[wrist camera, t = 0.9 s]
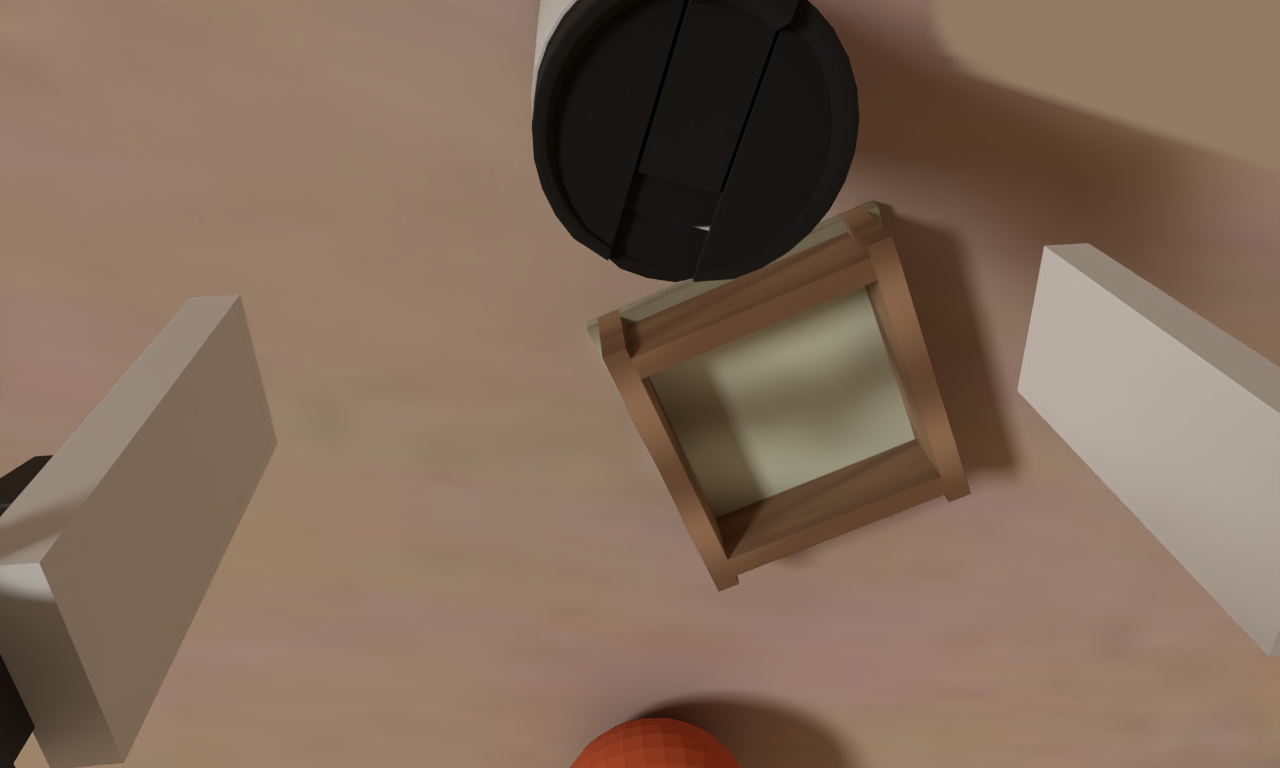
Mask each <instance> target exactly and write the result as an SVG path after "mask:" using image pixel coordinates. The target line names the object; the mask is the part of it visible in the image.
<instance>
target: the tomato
mask: <svg viewBox="0 0 1280 768" xmlns="http://www.w3.org/2000/svg"><path fill="white" fill-rule="evenodd" d="M571 768H741V767H740V765H739V764H738V762H737V761H736V759H735V758H734V757H733V755H732V754H731V752H730V751H729V750H728V749H727V748H726V747H725V746H724V745H723V744H722V743H721V742H720V741H718V740H717V739H716V738H715V737H713V736H712V735H711V734H709V733H707V732H706V731H704V730H703V729H701V728H699V727H697V726H694V725H692V724H689V723H686V722H683V721H680V720H675V719H670V718H640V719H636V720H632V721H628V722H625V723H623V724H620V725H618V726H615V727H614V728H612V729H610V730H608V731H607V732H605V733H603V734H602V735H600V736H599V737H597V738H596V739H595V740H594V741H592V742H591V743H590V744H589V745H588V746H587V747H586V748H585V749H584V750H583V752H582V753H581V754H580V755H579V757H578V758H577V759H576V761H575V762H574V763H573V765H572V766H571Z"/></svg>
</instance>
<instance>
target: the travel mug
mask: <svg viewBox="0 0 1280 768" xmlns="http://www.w3.org/2000/svg"><path fill="white" fill-rule="evenodd" d="M531 106H532V135H533V151H534V160H535V164H536V168H537V172H538V175H539V179H540V183H541V186H542V189H543V191H544V193H545V195H546V197H547V199H548V201H549V203H550V205H551V207H552V209H553V211H554V213H555V215H556V217H557V218H558V219H559V220H560V222H561V223H562V224H563V226H564V227H565V228H566V229H567V231H568V232H569V233H570V235H571V236H572V237H573V238H574V239H575V240H577V241H578V242H580V243H581V244H583V245H584V246H586V247H588V248H589V249H591V250H592V251H594V252H595V253H597V254H598V255H600V256H601V257H603V258H605V259H606V260H608V259H610V260H611V261H612V262H613V263H615V264H616V265H617V266H618V267H619V268H620V269H623V270H626V271H629V272H632V273H635V274H638V275H640V276H643V277H646V278H651V279H658V280H665V281H671V282H678V281H683V280H687V279H692V278H693V281H694V282H702V281H715V280H729V279H736V278H738V277H741V276H743V275H746V274H749V273H751V272H754V271H756V270H759V269H761V268H763V267H765V266H766V265H768V264H770V263H771V262H773V261H775V260H776V259H778V258H780V257H781V256H783V255H785V254H786V253H788V252H789V251H790V250H791V249H792V248H794V247H795V246H796V245H797V244H798V243H799V242H801V241H802V240H803V239H804V238H805V237H806V236H807V235H809V234H810V233H811V232H812V230H813V229H814V228H815V227H816V225H817V224H818V223H819V222H820V221H821V219H822V218H823V217H824V216H825V214H826V213H827V212H828V211H829V209H830V208H831V206H832V204H833V202H834V201H835V199H836V197H837V195H838V193H839V192H840V190H841V188H842V186H843V184H844V183H845V180H846V177H847V174H848V171H849V168H850V165H851V162H852V159H853V156H854V153H855V148H856V140H857V133H858V125H859V110H858V95H857V86H856V83H855V79H854V76H853V72H852V68H851V65H850V61H849V58H848V56H847V54H846V52H845V50H844V48H843V46H842V44H841V42H840V40H839V38H838V36H837V35H836V33H835V31H834V29H833V28H832V26H831V25H830V24H829V23H828V22H827V20H826V19H825V18H824V17H823V16H822V15H821V13H820V12H819V11H818V10H817V9H816V8H815V7H814V6H813V5H812V4H811V3H810V2H809V1H808V0H541V1H540V9H539V16H538V28H537V39H536V51H535V62H534V74H533V85H532V97H531Z"/></svg>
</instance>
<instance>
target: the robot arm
mask: <svg viewBox="0 0 1280 768" xmlns="http://www.w3.org/2000/svg"><path fill="white" fill-rule="evenodd" d="M1017 391H1018V392H1019V393H1020V394H1021V395H1022V396H1023V397H1024V398H1025V399H1026V400H1027V401H1028V402H1029V403H1030V404H1031V405H1032V407H1033V408H1034V409H1035V410H1036V411H1037V412H1038V413H1039V414H1040V415H1041V416H1042V417H1043V418H1044V419H1045V420H1046V421H1047V422H1048V423H1049V425H1050V426H1051V427H1052V428H1053V429H1054V430H1055V431H1056V432H1057V433H1058V434H1059V435H1060V436H1061V437H1062V438H1063V439H1064V440H1065V441H1066V443H1067V444H1068V445H1069V446H1070V447H1071V448H1072V449H1073V450H1074V451H1075V452H1076V453H1077V454H1078V455H1079V456H1080V457H1081V458H1082V459H1083V461H1084V462H1085V463H1086V464H1087V465H1088V466H1089V467H1090V468H1091V469H1092V470H1093V471H1094V472H1095V473H1096V474H1097V475H1098V476H1099V477H1100V479H1101V480H1102V481H1103V482H1104V483H1105V484H1106V485H1107V486H1108V487H1109V488H1110V489H1111V490H1112V491H1113V492H1114V493H1115V494H1116V495H1117V497H1118V498H1119V499H1120V500H1121V501H1122V502H1123V503H1124V504H1125V505H1126V506H1127V507H1128V508H1129V509H1130V510H1131V511H1132V512H1133V513H1134V515H1135V516H1136V517H1137V518H1138V519H1139V520H1140V521H1141V522H1142V523H1143V524H1144V525H1145V526H1146V527H1147V528H1148V529H1149V530H1150V531H1151V533H1152V534H1153V535H1154V536H1155V537H1156V538H1157V539H1158V540H1159V541H1160V542H1161V543H1162V544H1163V545H1164V546H1165V547H1166V548H1167V549H1168V551H1169V552H1170V553H1171V554H1172V555H1173V556H1174V557H1175V558H1176V559H1177V560H1178V561H1179V562H1180V563H1181V564H1182V565H1183V566H1184V567H1185V569H1186V570H1187V571H1188V572H1189V573H1190V574H1191V575H1192V576H1193V577H1194V578H1195V579H1196V580H1197V581H1198V582H1199V583H1200V584H1201V585H1202V587H1203V588H1204V589H1205V590H1206V591H1207V592H1208V593H1209V594H1210V595H1211V596H1212V597H1213V598H1214V599H1215V600H1216V601H1217V602H1218V603H1219V605H1220V606H1221V607H1222V608H1223V609H1224V610H1225V611H1226V612H1227V613H1228V614H1229V615H1230V616H1231V617H1232V618H1233V619H1234V620H1235V621H1236V623H1237V624H1238V625H1239V626H1240V627H1241V628H1242V629H1243V630H1244V631H1245V632H1246V633H1247V634H1248V635H1249V636H1250V637H1251V638H1252V639H1253V641H1254V642H1255V643H1256V644H1257V645H1258V646H1259V647H1260V648H1261V649H1262V650H1263V651H1264V652H1265V653H1266V654H1267V655H1268V656H1269V657H1270V656H1280V367H1278V366H1277V365H1275V364H1274V363H1272V362H1271V361H1269V360H1267V359H1266V358H1264V357H1263V356H1261V355H1260V354H1258V353H1257V352H1255V351H1254V350H1252V349H1251V348H1249V347H1247V346H1246V345H1244V344H1243V343H1241V342H1240V341H1238V340H1237V339H1235V338H1234V337H1232V336H1231V335H1229V334H1227V333H1226V332H1224V331H1223V330H1221V329H1220V328H1218V327H1217V326H1215V325H1214V324H1212V323H1211V322H1209V321H1207V320H1206V319H1204V318H1203V317H1201V316H1200V315H1198V314H1197V313H1195V312H1194V311H1192V310H1191V309H1189V308H1187V307H1186V306H1184V305H1183V304H1181V303H1180V302H1178V301H1177V300H1175V299H1174V298H1172V297H1171V296H1169V295H1167V294H1166V293H1164V292H1163V291H1161V290H1160V289H1158V288H1157V287H1155V286H1154V285H1152V284H1151V283H1149V282H1147V281H1146V280H1144V279H1143V278H1141V277H1140V276H1138V275H1137V274H1135V273H1134V272H1132V271H1131V270H1129V269H1127V268H1126V267H1124V266H1123V265H1121V264H1120V263H1118V262H1117V261H1115V260H1114V259H1112V258H1111V257H1109V256H1107V255H1106V254H1104V253H1103V252H1101V251H1100V250H1098V249H1097V248H1095V247H1094V246H1092V245H1091V244H1089V243H1082V244H1066V245H1049V246H1044V250H1043V255H1042V261H1041V266H1040V272H1039V277H1038V282H1037V288H1036V293H1035V298H1034V304H1033V309H1032V315H1031V320H1030V325H1029V331H1028V336H1027V341H1026V347H1025V352H1024V358H1023V363H1022V368H1021V374H1020V379H1019V385H1018V390H1017ZM276 445H277V439H276V435H275V431H274V427H273V423H272V419H271V415H270V411H269V407H268V403H267V399H266V395H265V391H264V387H263V383H262V379H261V375H260V371H259V367H258V364H257V360H256V356H255V352H254V348H253V344H252V340H251V336H250V332H249V328H248V324H247V320H246V316H245V312H244V308H243V304H242V300H241V296H240V295H224V296H207V297H191V298H189V300H188V301H187V302H186V303H185V304H184V305H183V307H182V308H181V309H180V310H179V311H178V312H177V313H176V315H175V316H174V317H173V318H172V319H171V320H170V322H169V323H168V324H167V325H166V326H165V327H164V328H163V330H162V331H161V332H160V333H159V334H158V335H157V337H156V338H155V339H154V340H153V341H152V342H151V343H150V345H149V346H148V347H147V348H146V349H145V350H144V352H143V353H142V354H141V355H140V356H139V357H138V359H137V360H136V361H135V362H134V363H133V364H132V365H131V367H130V368H129V369H128V370H127V371H126V372H125V374H124V375H123V376H122V377H121V378H120V379H119V380H118V382H117V383H116V384H115V385H114V386H113V387H112V389H111V390H110V391H109V392H108V393H107V394H106V395H105V397H104V398H103V399H102V400H101V401H100V402H99V404H98V405H97V406H96V407H95V408H94V409H93V410H92V412H91V413H90V414H89V415H88V416H87V417H86V419H85V420H84V421H83V422H82V423H81V424H80V426H79V427H78V428H77V429H76V430H75V431H74V432H73V434H72V435H71V436H70V437H69V438H68V439H67V441H66V442H65V443H64V444H63V445H62V446H61V447H60V449H59V450H58V451H57V452H56V453H55V454H54V455H49V456H35V457H33V458H32V459H30V460H28V461H27V462H25V463H24V464H22V465H21V466H19V467H17V468H16V469H14V470H13V471H11V472H9V473H8V474H6V475H5V476H3V477H2V478H0V768H15V766H14V764H13V763H14V761H15V760H16V758H17V756H18V755H19V753H20V751H21V750H22V748H23V746H24V745H25V743H26V742H27V740H28V738H29V737H30V735H31V733H32V732H33V733H34V735H35V737H36V739H37V741H38V743H39V745H40V748H41V750H42V752H43V754H44V756H45V758H46V760H47V762H48V764H49V766H50V768H72V767H82V766H93V765H104V764H115V763H124V762H125V759H126V757H127V755H128V753H129V751H130V749H131V747H132V745H133V743H134V741H135V739H136V737H137V734H138V732H139V730H140V728H141V726H142V724H143V722H144V720H145V718H146V716H147V714H148V712H149V709H150V707H151V705H152V703H153V701H154V699H155V697H156V695H157V693H158V691H159V689H160V687H161V685H162V682H163V680H164V678H165V676H166V674H167V672H168V670H169V668H170V666H171V664H172V662H173V660H174V657H175V655H176V653H177V651H178V649H179V647H180V645H181V643H182V641H183V639H184V637H185V635H186V633H187V630H188V628H189V626H190V624H191V622H192V620H193V618H194V616H195V614H196V612H197V610H198V608H199V605H200V603H201V601H202V599H203V597H204V595H205V593H206V591H207V589H208V587H209V585H210V583H211V580H212V578H213V576H214V574H215V572H216V570H217V568H218V566H219V564H220V562H221V560H222V558H223V556H224V553H225V551H226V549H227V547H228V545H229V543H230V541H231V539H232V537H233V535H234V533H235V531H236V528H237V526H238V524H239V522H240V520H241V518H242V516H243V514H244V512H245V510H246V508H247V506H248V504H249V501H250V499H251V497H252V495H253V493H254V491H255V489H256V487H257V485H258V483H259V481H260V479H261V476H262V474H263V472H264V470H265V468H266V466H267V464H268V462H269V460H270V458H271V456H272V454H273V451H274V449H275V447H276Z"/></svg>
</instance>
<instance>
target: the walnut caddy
mask: <svg viewBox="0 0 1280 768" xmlns="http://www.w3.org/2000/svg"><path fill="white" fill-rule="evenodd" d="M587 328H588V332H589V334H590V336H591V338H592V340H593V342H594V344H595V346H596V348H597V350H598V352H599V354H600V356H601V358H602V360H603V362H604V364H605V366H606V368H607V370H608V372H609V374H610V376H611V378H612V380H613V382H614V384H615V386H616V388H617V390H618V392H619V394H620V396H621V398H622V400H623V402H624V404H625V406H626V408H627V410H628V412H629V414H630V416H631V418H632V420H633V422H634V424H635V426H636V428H637V430H638V432H639V434H640V436H641V438H642V440H643V442H644V444H645V446H646V448H647V450H648V452H649V454H650V456H651V458H652V460H653V462H654V464H655V466H656V468H657V470H658V472H659V474H660V476H661V478H662V480H663V482H664V484H665V486H666V488H667V490H668V492H669V494H670V496H671V498H672V500H673V502H674V504H675V506H676V508H677V510H678V512H679V514H680V516H681V518H682V520H683V522H684V524H685V526H686V528H687V530H688V532H689V534H690V536H691V538H692V540H693V542H694V544H695V546H696V548H697V550H698V552H699V553H700V555H701V557H702V559H703V561H704V563H705V565H706V567H707V569H708V571H709V573H710V575H711V577H712V579H713V581H714V583H715V585H716V587H717V589H718V591H722V590H724V589H727V588H729V587H732V586H735V585H737V584H739V581H738V578H737V575H739V574H742V573H744V572H747V571H749V570H752V569H754V568H757V567H760V566H762V565H765V564H767V563H770V562H772V561H775V560H777V559H780V558H783V557H785V556H788V555H790V554H793V553H795V552H798V551H801V550H803V549H806V548H808V547H811V546H813V545H816V544H818V543H821V542H824V541H826V540H829V539H831V538H834V537H836V536H839V535H842V534H844V533H847V532H849V531H852V530H854V529H857V528H860V527H862V526H865V525H867V524H870V523H872V522H875V521H877V520H880V519H883V518H885V517H888V516H890V515H893V514H895V513H898V512H901V511H903V510H906V509H908V508H911V507H913V506H916V505H918V504H921V503H924V502H926V501H929V500H931V499H934V498H936V497H939V496H942V495H945V497H946V498H947V500H948V501H949V502H951V501H953V500H956V499H958V498H961V497H963V496H966V495H969V494H971V493H970V489H969V486H968V483H967V479H966V476H965V473H964V470H963V466H962V463H961V460H960V456H959V453H958V450H957V447H956V443H955V440H954V437H953V433H952V430H951V427H950V424H949V420H948V417H947V414H946V410H945V407H944V404H943V401H942V397H941V394H940V391H939V387H938V384H937V381H936V377H935V374H934V371H933V368H932V364H931V361H930V358H929V354H928V351H927V348H926V345H925V341H924V338H923V335H922V331H921V328H920V325H919V322H918V318H917V315H916V312H915V308H914V305H913V302H912V299H911V295H910V292H909V289H908V285H907V282H906V279H905V276H904V272H903V269H902V266H901V262H900V259H899V256H898V252H897V249H896V246H895V243H894V239H893V236H892V235H891V234H890V233H889V232H888V231H887V230H886V229H885V227H884V223H883V220H882V217H881V214H880V210H879V207H878V205H876V204H875V203H874V202H873V201H870V202H868V203H865V204H863V205H861V206H858V207H856V208H854V209H851V210H849V211H847V212H844V213H842V214H840V215H837V216H835V217H833V218H830V219H828V220H826V221H823V222H821V223H819V224H817V225H816V227H815V228H814V229H813V230H812V232H811V233H810V234H809V235H807V236H806V237H805V238H804V239H803V240H802V241H801V242H799V243H798V244H797V245H796V246H795V247H794V248H792V249H791V250H790V251H789V252H788V253H786V254H785V255H783V256H781V257H780V258H778V259H776V260H775V261H773V262H771V263H770V264H768V265H766V266H765V267H763V268H761V269H759V270H756V271H754V272H751V273H749V274H746V275H743V276H741V277H738V278H736V279H729V280H715V281H702V282H694V281H693V278H692V279H688V280H686V281H684V282H681V283H679V284H677V285H674V286H672V287H670V288H667V289H665V290H663V291H660V292H658V293H656V294H653V295H651V296H649V297H646V298H644V299H642V300H639V301H637V302H635V303H632V304H630V305H628V306H625V307H623V308H621V309H618V310H616V311H614V312H611V313H609V314H607V315H604V316H602V317H600V318H597V319H595V320H593V321H590V322H588V323H587Z"/></svg>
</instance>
